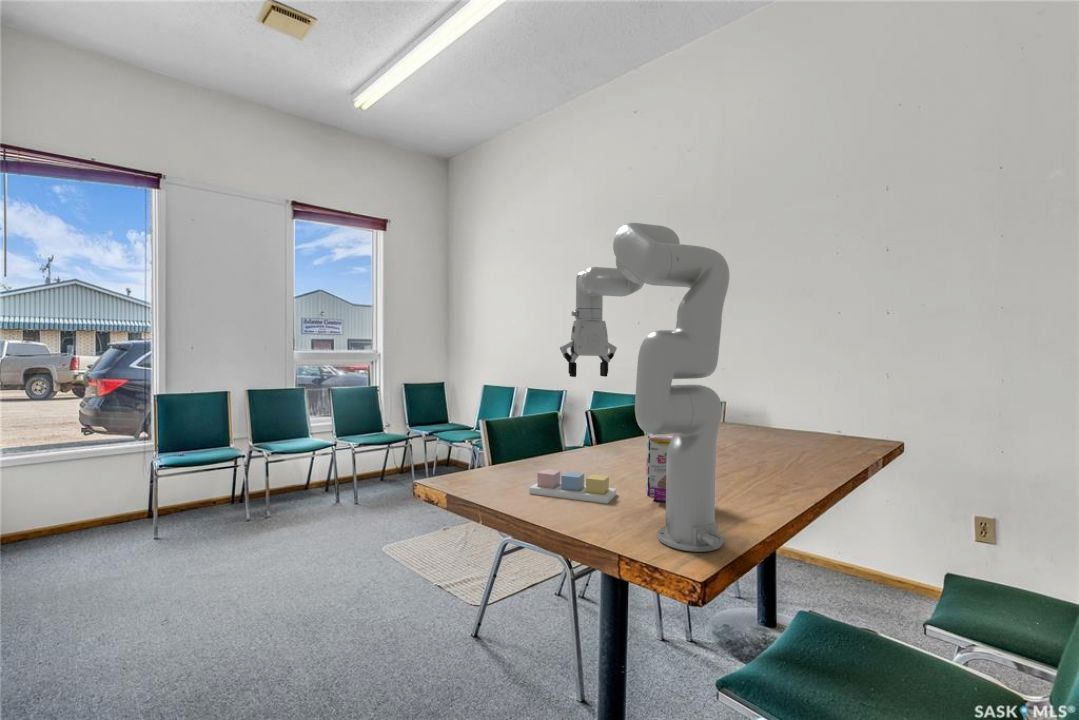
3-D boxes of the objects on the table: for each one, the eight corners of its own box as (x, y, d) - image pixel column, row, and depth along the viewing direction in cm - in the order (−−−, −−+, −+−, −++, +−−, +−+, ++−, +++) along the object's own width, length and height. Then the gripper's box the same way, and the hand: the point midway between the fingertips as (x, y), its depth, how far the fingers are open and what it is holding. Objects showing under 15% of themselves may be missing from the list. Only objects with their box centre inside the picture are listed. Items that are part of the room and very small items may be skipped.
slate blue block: (584, 492, 132) (584, 473, 132) (578, 497, 128) (578, 477, 128) (567, 490, 134) (567, 471, 134) (561, 495, 130) (561, 475, 130)
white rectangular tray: (616, 500, 131) (616, 488, 131) (607, 509, 123) (607, 497, 123) (541, 490, 139) (541, 480, 139) (529, 499, 131) (529, 487, 131)
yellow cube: (608, 495, 130) (608, 476, 130) (603, 500, 126) (603, 480, 125) (591, 493, 132) (591, 474, 131) (585, 498, 127) (586, 478, 127)
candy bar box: (647, 502, 129) (648, 438, 129) (645, 496, 134) (645, 434, 134) (692, 504, 128) (693, 439, 128) (688, 498, 133) (689, 435, 133)
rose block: (560, 489, 135) (560, 471, 135) (553, 494, 131) (554, 474, 131) (544, 487, 137) (544, 469, 137) (537, 492, 133) (537, 473, 132)
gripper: (566, 314, 137) (565, 377, 138) (622, 316, 144) (621, 376, 144) (555, 315, 144) (555, 376, 145) (609, 317, 151) (609, 375, 151)
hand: (588, 376), depth 144 cm, fingers open, 9 cm apart
